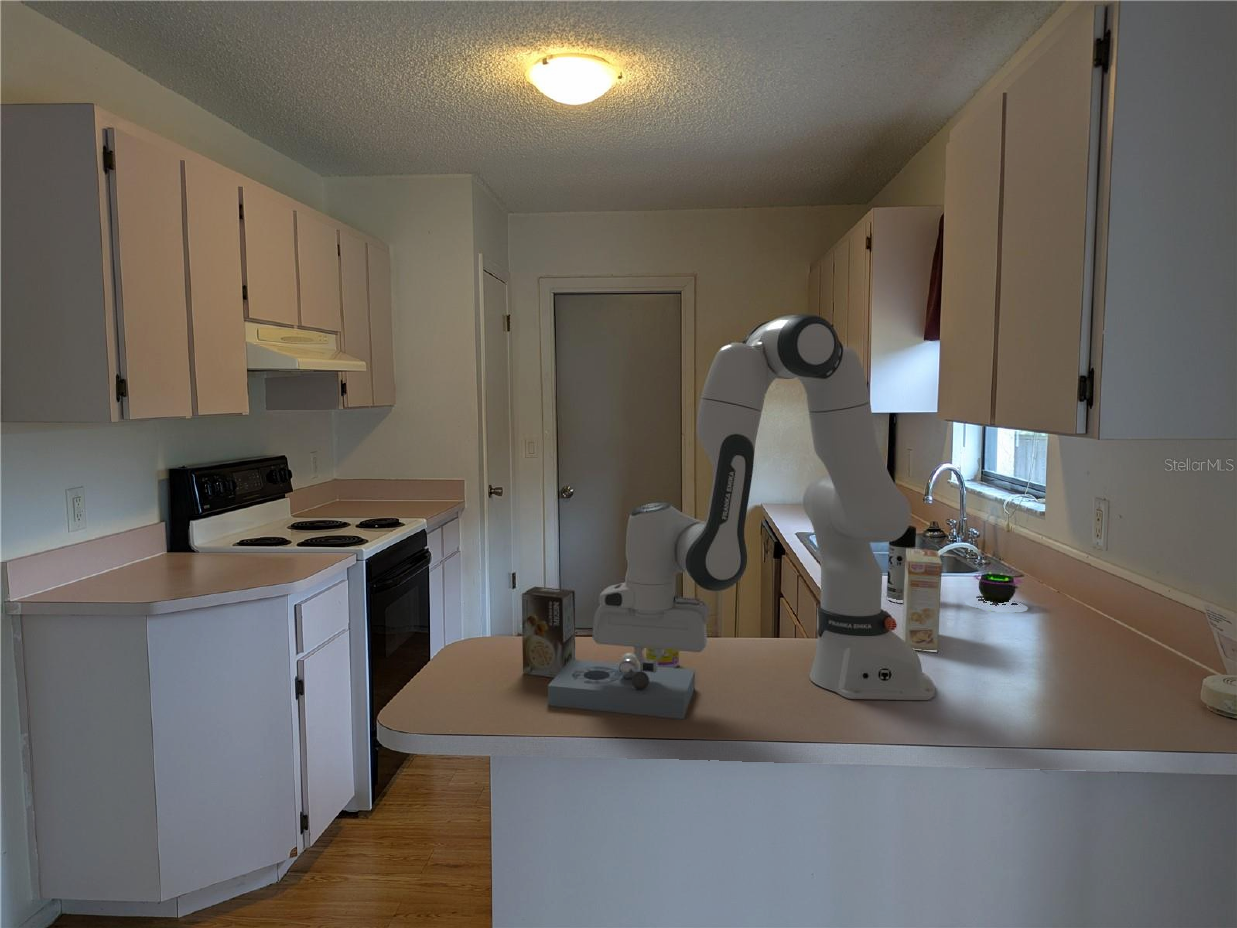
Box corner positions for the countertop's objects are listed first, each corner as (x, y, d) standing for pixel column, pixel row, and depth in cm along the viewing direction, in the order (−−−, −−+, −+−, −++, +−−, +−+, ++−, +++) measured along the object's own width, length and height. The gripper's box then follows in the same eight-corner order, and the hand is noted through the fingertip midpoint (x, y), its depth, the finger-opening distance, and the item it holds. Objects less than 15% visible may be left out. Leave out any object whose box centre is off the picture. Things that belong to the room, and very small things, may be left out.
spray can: (884, 596, 211) (886, 523, 209) (910, 597, 210) (913, 524, 208) (889, 603, 204) (892, 528, 203) (916, 604, 204) (919, 528, 202)
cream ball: (638, 666, 146) (638, 651, 145) (635, 672, 143) (635, 656, 143) (622, 665, 146) (622, 649, 146) (619, 670, 143) (619, 655, 143)
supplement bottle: (676, 672, 153) (677, 608, 152) (643, 669, 154) (643, 606, 153) (680, 660, 160) (681, 599, 159) (648, 658, 161) (649, 597, 160)
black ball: (650, 686, 136) (650, 669, 136) (647, 692, 133) (647, 675, 133) (633, 684, 137) (633, 668, 136) (630, 691, 134) (630, 674, 134)
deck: (694, 688, 145) (694, 669, 144) (683, 719, 131) (684, 698, 131) (570, 677, 150) (570, 659, 150) (547, 705, 136) (547, 685, 136)
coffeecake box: (938, 653, 165) (943, 563, 163) (903, 649, 167) (906, 560, 166) (934, 633, 179) (938, 549, 177) (901, 629, 182) (905, 547, 180)
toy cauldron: (1042, 611, 198) (1044, 569, 197) (992, 615, 194) (994, 572, 193) (999, 596, 213) (1001, 556, 212) (952, 599, 209) (954, 559, 208)
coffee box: (577, 669, 155) (577, 589, 153) (563, 680, 149) (563, 597, 147) (535, 663, 158) (535, 585, 156) (520, 673, 152) (520, 593, 150)
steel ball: (621, 654, 142) (620, 673, 142) (617, 660, 138) (616, 680, 139) (640, 656, 141) (639, 675, 141) (637, 663, 137) (636, 682, 138)
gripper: (710, 594, 138) (709, 670, 140) (599, 586, 143) (598, 660, 144) (706, 603, 132) (705, 682, 133) (590, 595, 137) (589, 671, 138)
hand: (648, 670), depth 139 cm, fingers closed
